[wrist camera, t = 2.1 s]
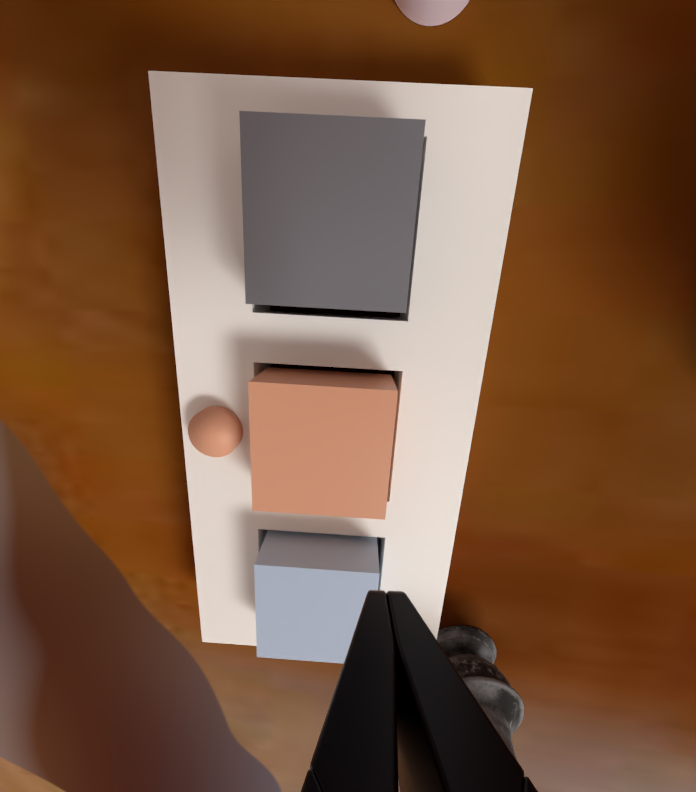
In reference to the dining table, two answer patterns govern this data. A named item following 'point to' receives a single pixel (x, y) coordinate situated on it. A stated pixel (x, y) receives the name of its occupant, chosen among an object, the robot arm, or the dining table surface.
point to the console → (332, 321)
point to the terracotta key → (321, 441)
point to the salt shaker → (483, 677)
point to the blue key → (311, 593)
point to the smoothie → (431, 10)
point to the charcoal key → (329, 209)
